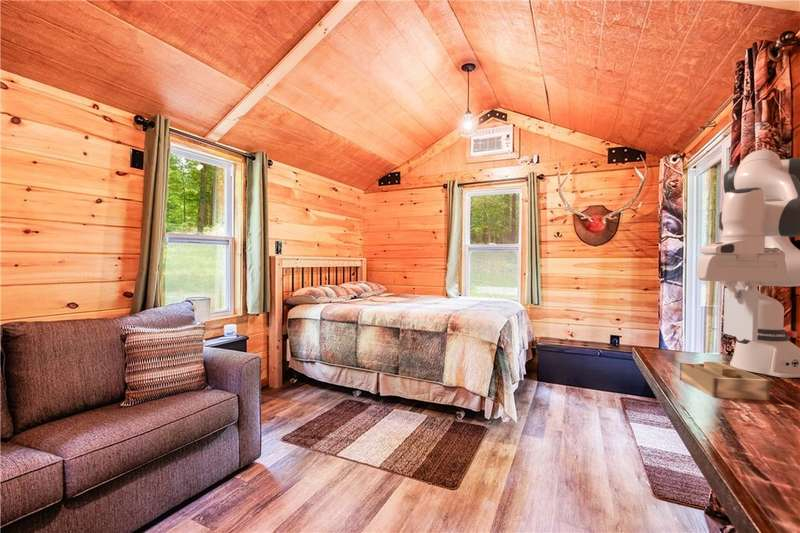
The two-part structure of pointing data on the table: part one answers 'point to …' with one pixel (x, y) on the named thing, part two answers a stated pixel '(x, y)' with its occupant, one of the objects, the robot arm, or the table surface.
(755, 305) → the sheet
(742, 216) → the robot arm
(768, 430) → the table surface
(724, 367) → the offcut top
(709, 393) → the rack
